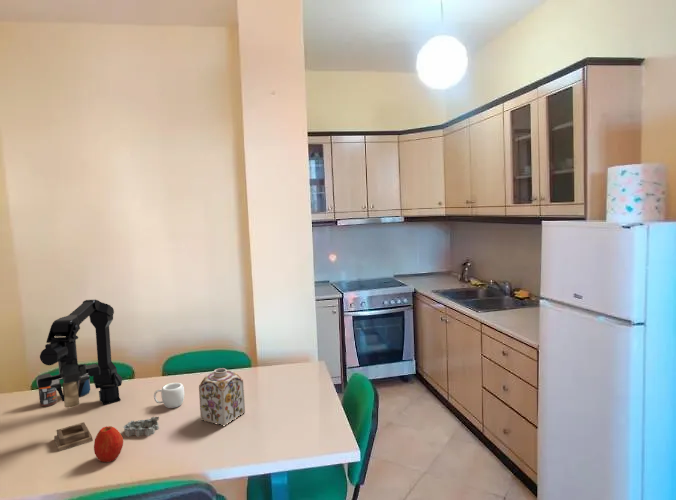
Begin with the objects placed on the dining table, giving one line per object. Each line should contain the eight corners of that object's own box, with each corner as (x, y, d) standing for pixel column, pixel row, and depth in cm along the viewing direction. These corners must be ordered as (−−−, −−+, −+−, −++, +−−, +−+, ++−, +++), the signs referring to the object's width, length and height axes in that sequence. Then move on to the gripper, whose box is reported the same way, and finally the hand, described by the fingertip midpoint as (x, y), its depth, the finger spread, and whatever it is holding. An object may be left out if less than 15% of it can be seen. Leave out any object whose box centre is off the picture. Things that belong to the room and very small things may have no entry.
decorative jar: (200, 421, 168) (196, 373, 166) (222, 407, 178) (219, 362, 176) (225, 427, 163) (222, 378, 161) (246, 413, 173) (243, 367, 171)
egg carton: (161, 427, 165) (160, 416, 165) (151, 437, 158) (150, 426, 157) (133, 426, 166) (132, 415, 166) (121, 437, 159) (120, 425, 158)
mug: (188, 400, 186) (187, 381, 185) (180, 410, 178) (178, 390, 177) (159, 400, 187) (157, 381, 186) (149, 410, 178) (148, 390, 177)
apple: (128, 450, 150) (125, 419, 148) (117, 465, 141) (114, 432, 140) (102, 452, 149) (99, 420, 148) (89, 466, 141) (86, 433, 140)
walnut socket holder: (87, 429, 165) (86, 420, 164) (92, 440, 157) (91, 431, 156) (54, 439, 159) (53, 429, 158) (58, 451, 151) (57, 441, 150)
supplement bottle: (49, 407, 184) (46, 380, 182) (36, 406, 185) (33, 379, 184) (61, 401, 190) (58, 374, 188) (48, 400, 191) (45, 373, 190)
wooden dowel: (78, 400, 164) (76, 379, 163) (80, 404, 161) (78, 382, 160) (63, 404, 161) (61, 382, 161) (65, 408, 158) (63, 386, 157)
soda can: (94, 391, 199) (91, 364, 197) (81, 398, 192) (78, 370, 191) (81, 389, 200) (78, 363, 199) (68, 396, 194) (65, 369, 192)
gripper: (37, 367, 147) (42, 415, 149) (101, 354, 159) (105, 398, 160) (34, 359, 156) (38, 404, 158) (95, 347, 167) (99, 389, 169)
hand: (71, 399), depth 161 cm, fingers closed on wooden dowel, 4 cm apart
